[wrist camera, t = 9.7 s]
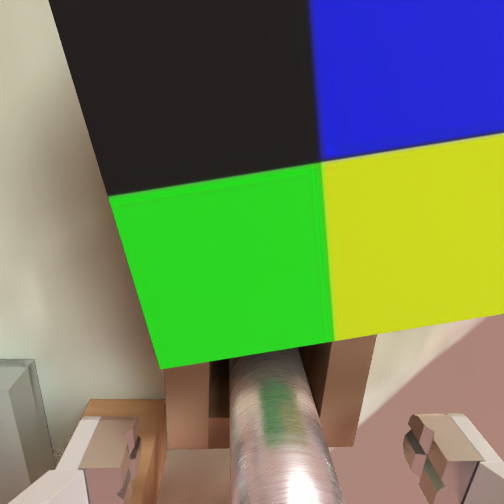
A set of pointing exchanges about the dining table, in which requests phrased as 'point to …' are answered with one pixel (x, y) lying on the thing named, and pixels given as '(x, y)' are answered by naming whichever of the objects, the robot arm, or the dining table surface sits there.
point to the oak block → (151, 440)
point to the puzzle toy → (296, 163)
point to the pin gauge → (277, 434)
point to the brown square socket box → (218, 395)
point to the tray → (21, 429)
